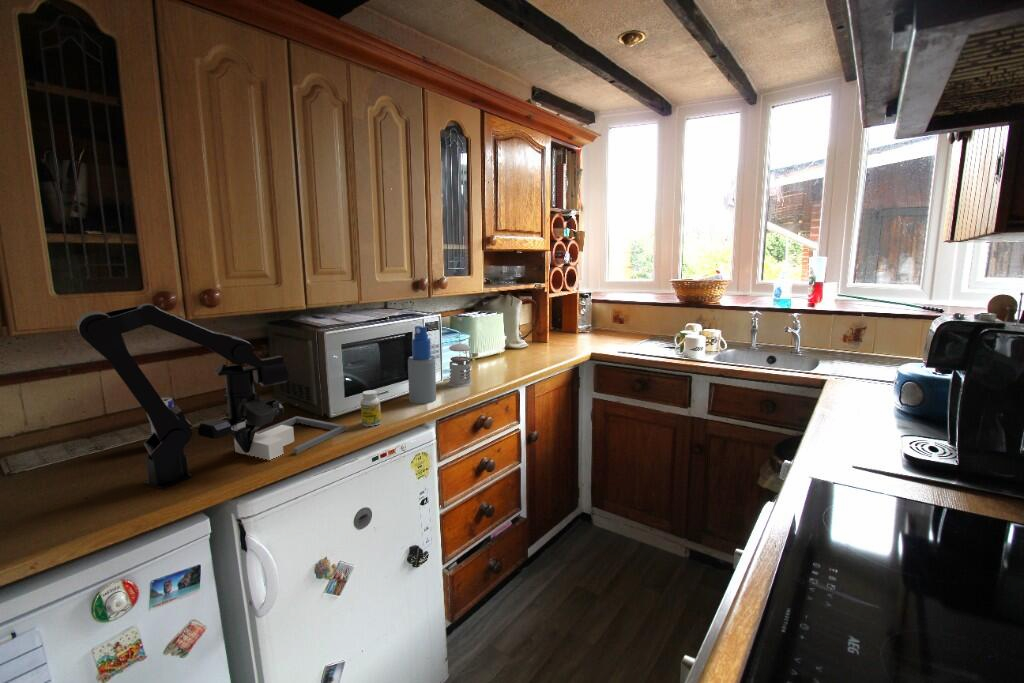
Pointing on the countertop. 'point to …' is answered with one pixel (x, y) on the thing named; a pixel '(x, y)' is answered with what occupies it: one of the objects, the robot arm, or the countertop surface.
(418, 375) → the spray bottle
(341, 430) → the grey rectangular rod frame
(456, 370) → the french press
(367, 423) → the supplement bottle
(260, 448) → the t block
